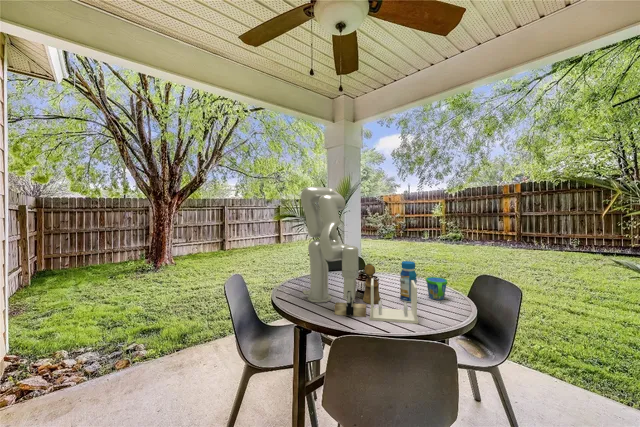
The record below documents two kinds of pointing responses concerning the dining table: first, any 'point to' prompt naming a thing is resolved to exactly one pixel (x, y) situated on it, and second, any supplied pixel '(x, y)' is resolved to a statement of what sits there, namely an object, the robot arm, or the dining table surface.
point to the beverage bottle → (407, 280)
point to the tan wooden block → (357, 309)
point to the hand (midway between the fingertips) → (350, 312)
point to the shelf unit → (395, 314)
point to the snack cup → (436, 287)
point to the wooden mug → (370, 271)
